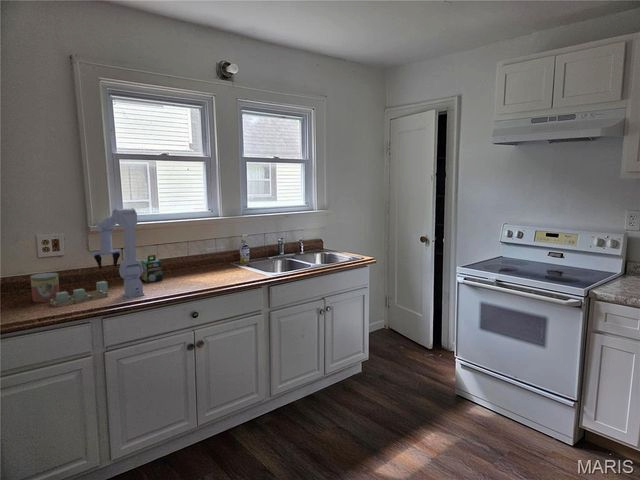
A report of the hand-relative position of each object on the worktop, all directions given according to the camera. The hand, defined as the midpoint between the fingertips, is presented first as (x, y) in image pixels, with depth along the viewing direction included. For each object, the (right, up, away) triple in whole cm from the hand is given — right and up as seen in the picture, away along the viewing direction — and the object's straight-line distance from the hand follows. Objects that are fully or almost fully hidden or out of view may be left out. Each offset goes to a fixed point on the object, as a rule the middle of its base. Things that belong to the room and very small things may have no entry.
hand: (107, 267), depth 227 cm
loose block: (+3, -12, -11) cm, 16 cm away
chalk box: (+19, -8, +15) cm, 25 cm away
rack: (0, -14, -27) cm, 31 cm away
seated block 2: (0, -14, -27) cm, 31 cm away
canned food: (-17, -14, -26) cm, 34 cm away
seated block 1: (-4, -15, -33) cm, 36 cm away
